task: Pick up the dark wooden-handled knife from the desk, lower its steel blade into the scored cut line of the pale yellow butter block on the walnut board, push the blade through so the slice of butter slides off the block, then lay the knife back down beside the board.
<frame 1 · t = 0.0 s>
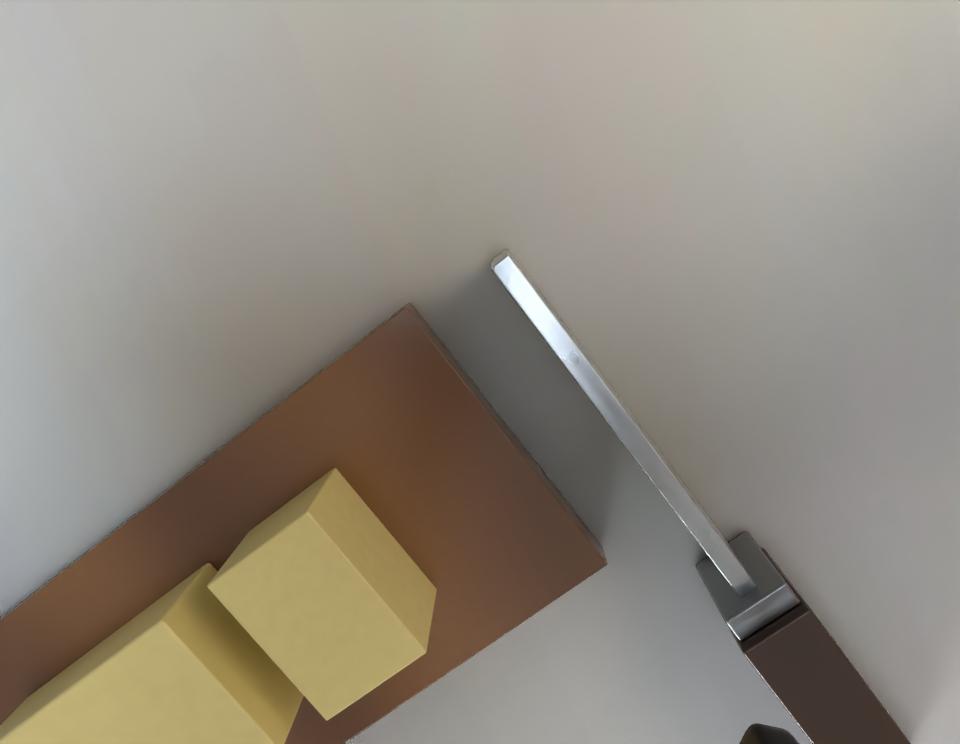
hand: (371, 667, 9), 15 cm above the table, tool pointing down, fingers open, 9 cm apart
knife: (810, 667, 26), on the table
butter block: (168, 687, 25), point 1 cm above the table, touching butter board
butter board: (268, 604, 26), on the table
butter slice: (343, 560, 24), point 1 cm above the table, touching butter board
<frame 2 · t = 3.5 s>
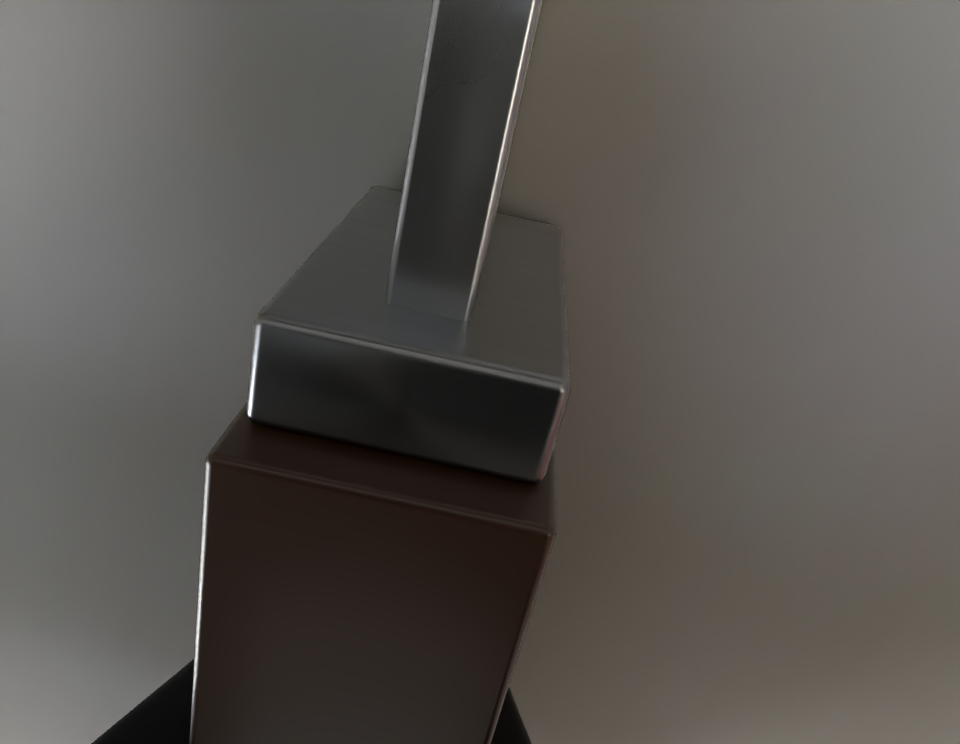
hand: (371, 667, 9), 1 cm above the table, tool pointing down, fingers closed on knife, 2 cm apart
knife: (389, 595, 10), on the table, touching gripper
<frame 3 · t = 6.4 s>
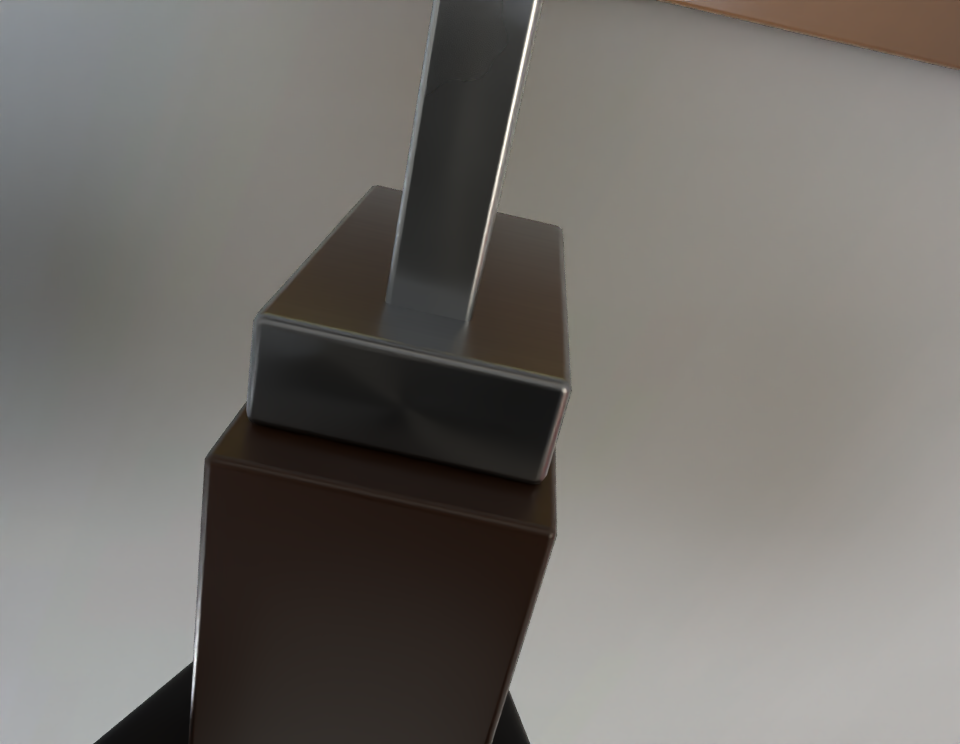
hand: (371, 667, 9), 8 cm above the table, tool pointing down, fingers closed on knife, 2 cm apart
knife: (389, 596, 10), point 6 cm above the table, touching gripper
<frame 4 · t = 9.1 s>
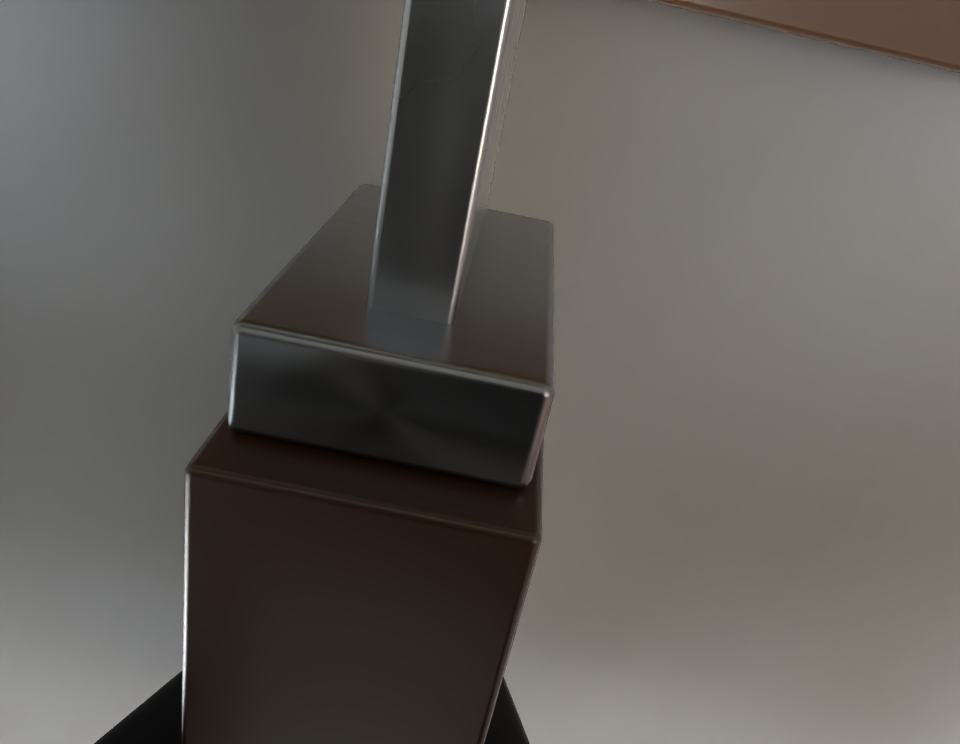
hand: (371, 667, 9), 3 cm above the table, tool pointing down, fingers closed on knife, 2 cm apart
knife: (389, 593, 10), point 2 cm above the table, touching butter slice, gripper
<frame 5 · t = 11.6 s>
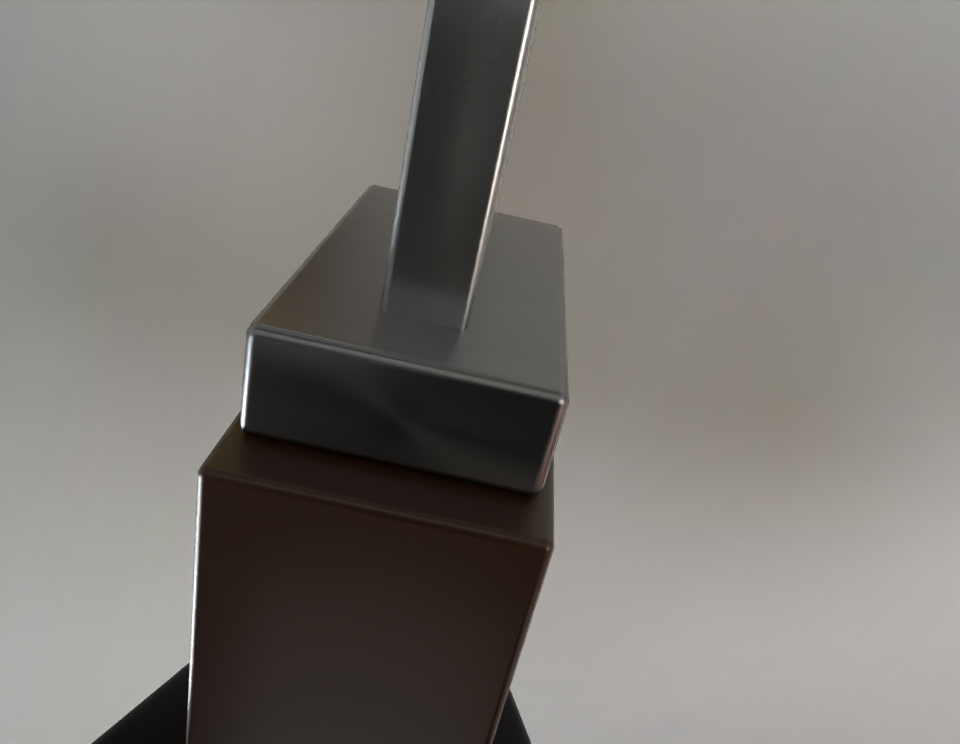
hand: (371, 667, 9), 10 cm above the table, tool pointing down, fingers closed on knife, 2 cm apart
knife: (389, 595, 10), point 8 cm above the table, touching gripper
when the fingers open (1 cm above the table, at t = 13.6 s): knife stays where it is, on the table.
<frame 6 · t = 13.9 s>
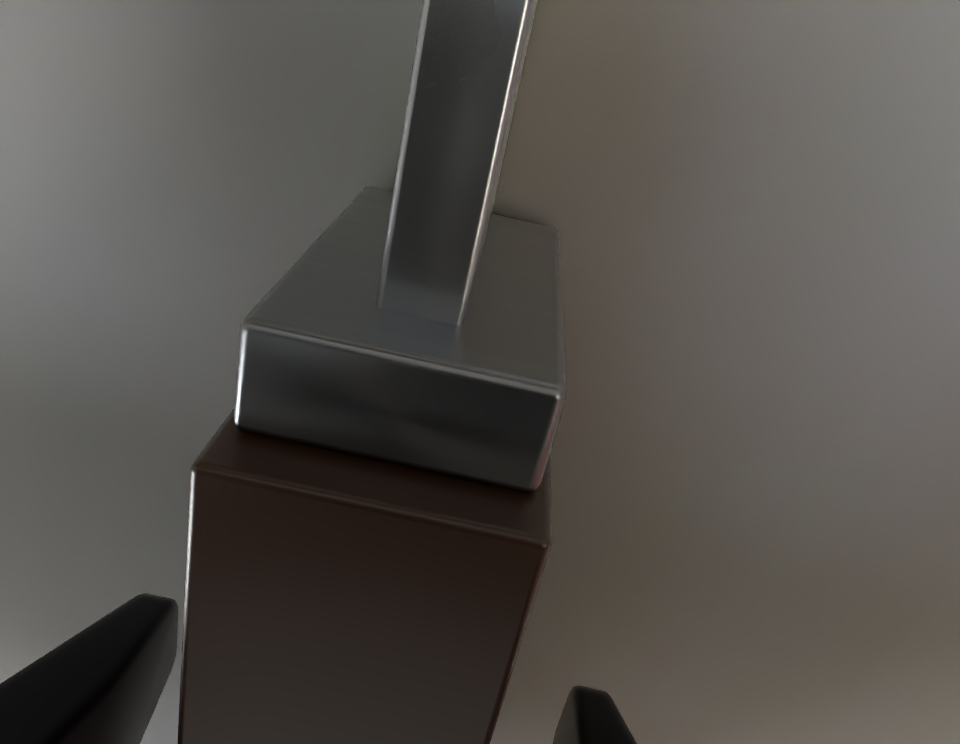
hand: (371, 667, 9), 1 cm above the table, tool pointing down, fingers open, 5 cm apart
knife: (384, 601, 10), on the table
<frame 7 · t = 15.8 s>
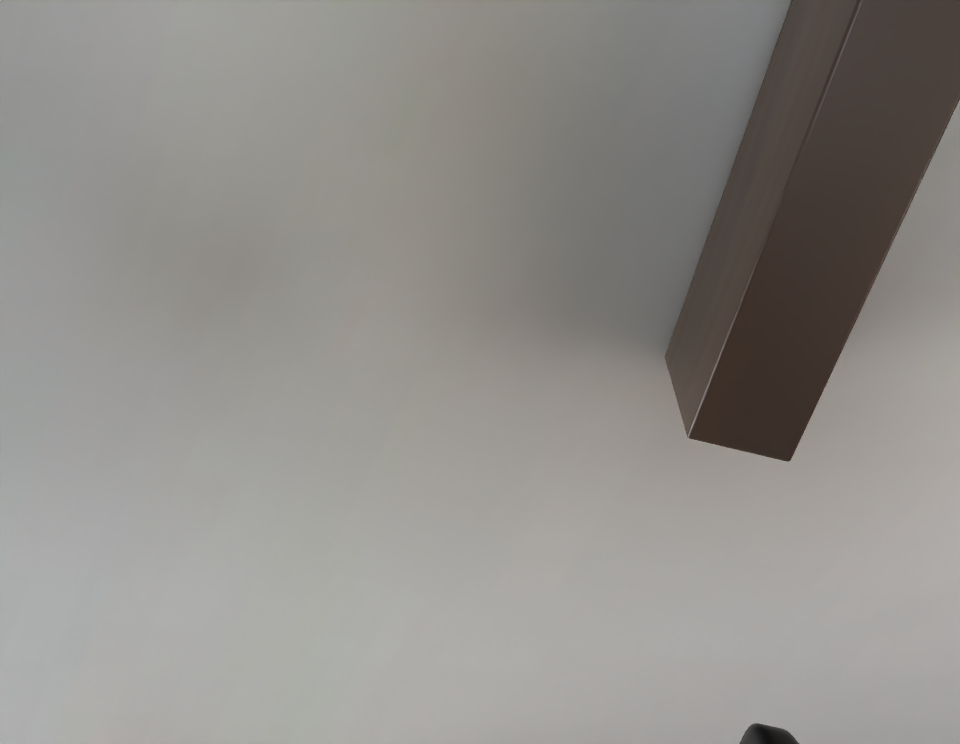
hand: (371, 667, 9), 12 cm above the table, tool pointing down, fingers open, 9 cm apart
knife: (773, 193, 18), on the table
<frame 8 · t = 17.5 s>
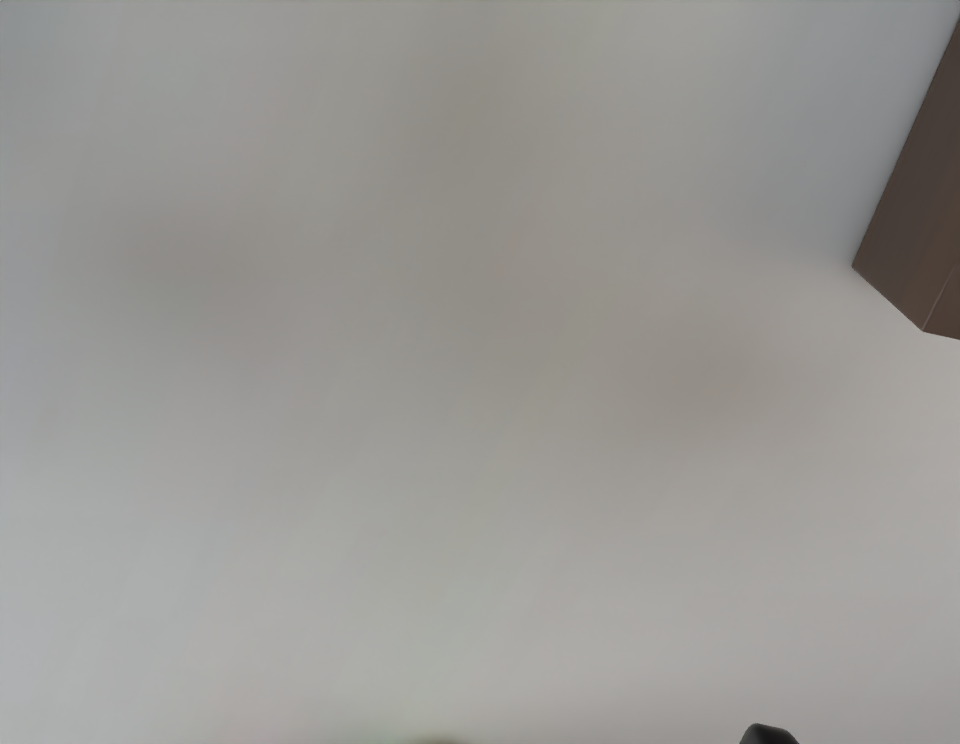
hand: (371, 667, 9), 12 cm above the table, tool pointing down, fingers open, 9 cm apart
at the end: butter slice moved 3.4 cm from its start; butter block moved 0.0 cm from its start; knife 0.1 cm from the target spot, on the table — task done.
